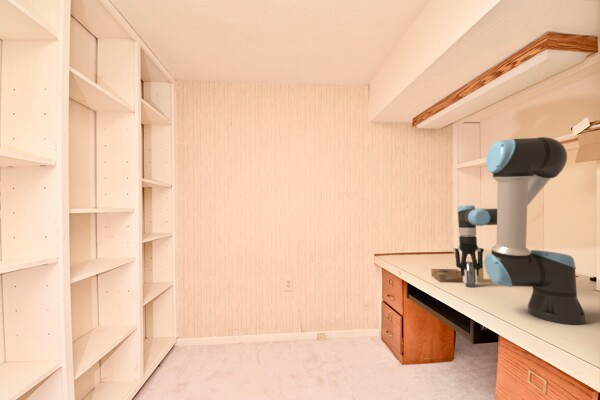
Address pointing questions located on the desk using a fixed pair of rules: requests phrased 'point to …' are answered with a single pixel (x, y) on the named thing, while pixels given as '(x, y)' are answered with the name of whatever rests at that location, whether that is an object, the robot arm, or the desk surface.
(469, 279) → the round bit
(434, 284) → the desk surface
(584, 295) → the desk surface
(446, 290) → the desk surface
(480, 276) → the square bit
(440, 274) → the socket block
